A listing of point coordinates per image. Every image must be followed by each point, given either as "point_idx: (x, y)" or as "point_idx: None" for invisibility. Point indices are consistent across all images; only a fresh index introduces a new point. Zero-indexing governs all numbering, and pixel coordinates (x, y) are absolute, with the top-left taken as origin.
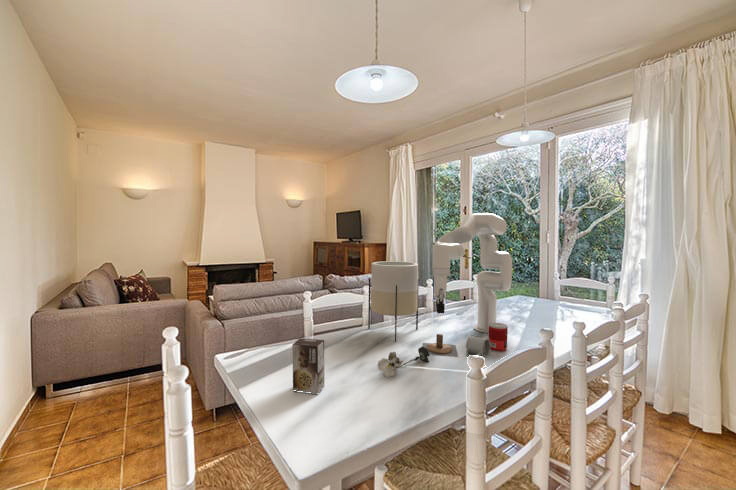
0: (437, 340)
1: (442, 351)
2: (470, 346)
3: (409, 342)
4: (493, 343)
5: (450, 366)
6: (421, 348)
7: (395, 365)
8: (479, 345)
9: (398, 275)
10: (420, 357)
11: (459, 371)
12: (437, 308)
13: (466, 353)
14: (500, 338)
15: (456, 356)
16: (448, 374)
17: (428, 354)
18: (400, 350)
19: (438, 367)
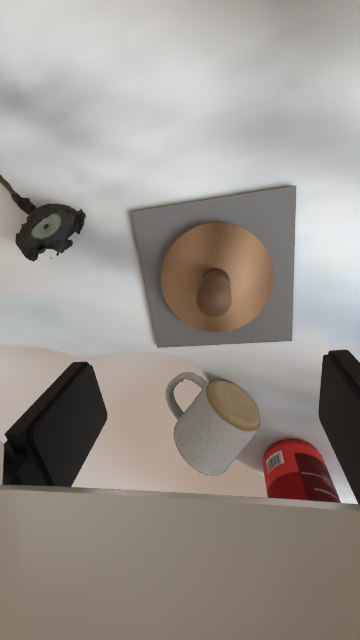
0: (201, 282)
1: (165, 297)
2: (196, 402)
3: (310, 96)
4: (271, 468)
5: (80, 321)
6: (24, 224)
7: None
8: (180, 434)
9: None
10: (63, 216)
11: (57, 345)
12: (50, 394)
13: (182, 376)
14: None
15: (158, 342)
16: (21, 317)
17: (28, 257)
18: (160, 79)
19: (53, 286)
